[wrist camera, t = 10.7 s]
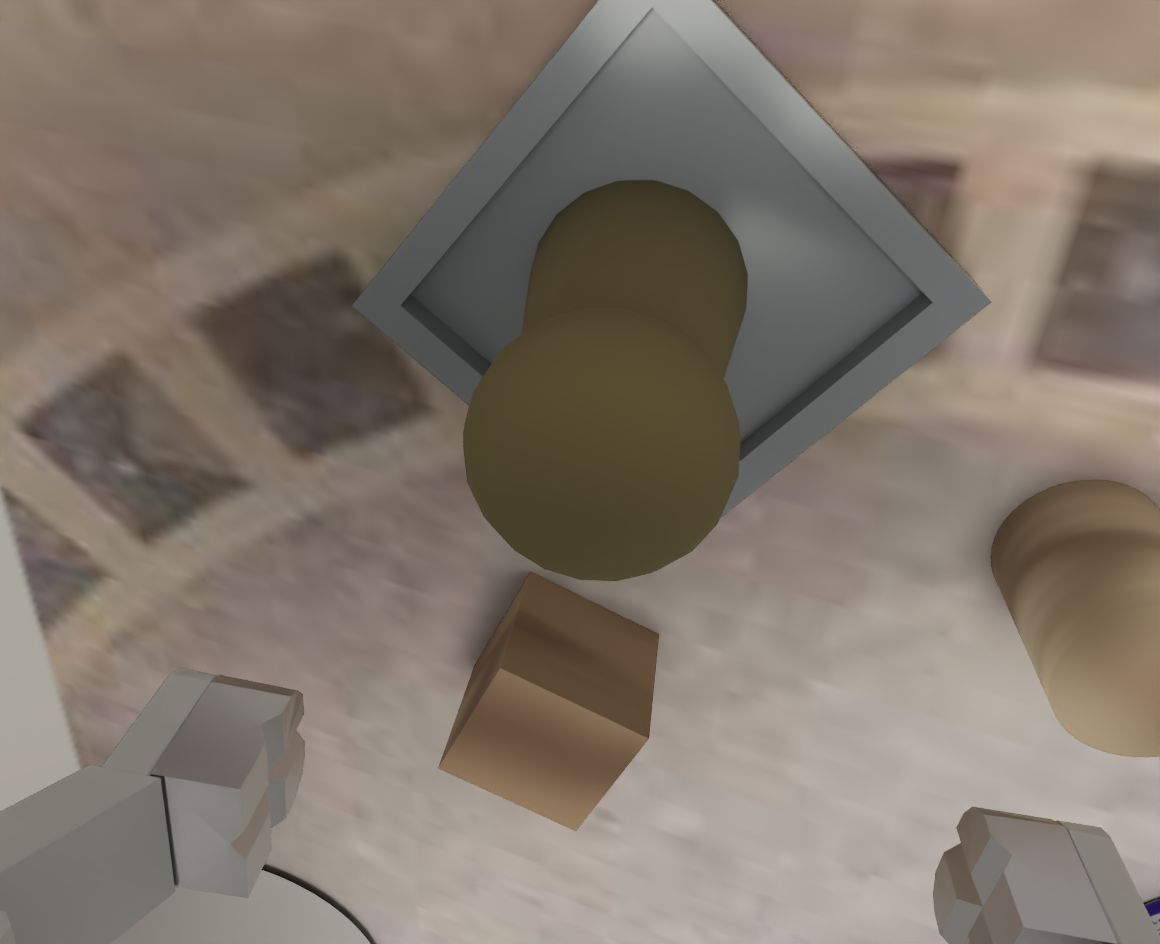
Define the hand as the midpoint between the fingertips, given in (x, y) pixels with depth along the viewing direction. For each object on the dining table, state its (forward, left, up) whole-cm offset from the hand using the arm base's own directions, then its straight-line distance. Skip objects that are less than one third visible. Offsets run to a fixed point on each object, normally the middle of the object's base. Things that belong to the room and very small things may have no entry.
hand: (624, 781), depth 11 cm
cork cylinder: (+3, -14, -17) cm, 22 cm away
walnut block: (-12, -6, -17) cm, 22 cm away
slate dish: (0, +1, -17) cm, 17 cm away
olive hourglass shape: (0, +1, -17) cm, 17 cm away
